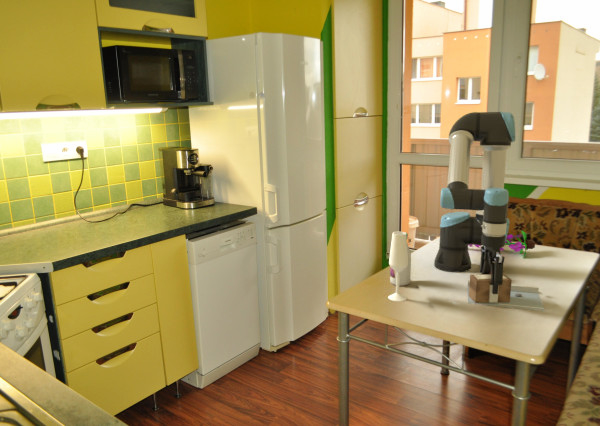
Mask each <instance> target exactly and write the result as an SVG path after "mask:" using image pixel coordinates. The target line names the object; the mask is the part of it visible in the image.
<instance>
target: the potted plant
mask: <svg viewBox="0 0 600 426" xmlns="http://www.w3.org/2000/svg"><path fill="white" fill-rule="evenodd" d="M520 230H521V229H520ZM521 233H522V234H516V235H513V234H507V238H506V241H505V246H508V248H510V249H511V250H513V251H514V252H517V253H520V254H523V252H524V254H523V258H522V259H524V258H525V256H526V255H527V251H528V250H533V249H535V248H536V242H535V240H533V239H527V236H528V235H527V233H526V232H525V231H523V230H521ZM520 237H522V238H523V240H524V242H522V241H521V239H520ZM512 239H517V240H518V241H517V242H513V241H512ZM481 246H484V245H472V244H468V248H469V247H471V248H472V247H476V248H478V249H481ZM524 250H525V251H524ZM500 251H505V248H504V247H501V248H500Z"/></svg>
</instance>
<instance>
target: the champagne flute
mask: <svg viewBox="0 0 600 426" xmlns="http://www.w3.org/2000/svg"><path fill="white" fill-rule="evenodd" d="M406 233H407V232H405V231H393V232H392V235H391V243H390V249H389V250H390V251H389V257H388V258H389V260H388V265H389V266H390V267H391V268H392V269H393V270H394V271H395V272H397V273H396V285H395V292H394V293H392V294H390V295H388V296H387V298H388V299H389V300H390V301H392V302H404V301H407V300H408V299H407V296H405V294H404V295H403V294H402V293H400V286H399V284H400V272H402V271H403V270H404V269H405V268H406V267H407V266H408V253H407V244H408V239H407V238H408V237H406Z"/></svg>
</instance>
